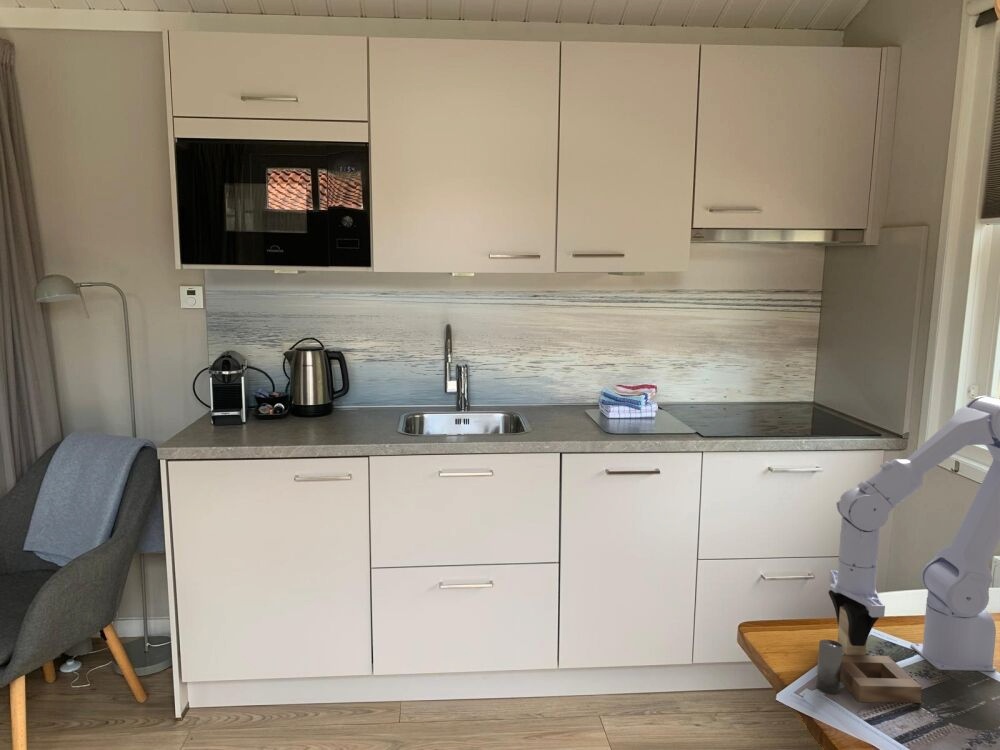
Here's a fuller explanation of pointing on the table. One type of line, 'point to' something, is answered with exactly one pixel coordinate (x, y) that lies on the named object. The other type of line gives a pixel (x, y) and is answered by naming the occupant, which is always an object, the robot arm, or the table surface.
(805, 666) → the table surface
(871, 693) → the bore block
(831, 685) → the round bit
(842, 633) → the square bit
